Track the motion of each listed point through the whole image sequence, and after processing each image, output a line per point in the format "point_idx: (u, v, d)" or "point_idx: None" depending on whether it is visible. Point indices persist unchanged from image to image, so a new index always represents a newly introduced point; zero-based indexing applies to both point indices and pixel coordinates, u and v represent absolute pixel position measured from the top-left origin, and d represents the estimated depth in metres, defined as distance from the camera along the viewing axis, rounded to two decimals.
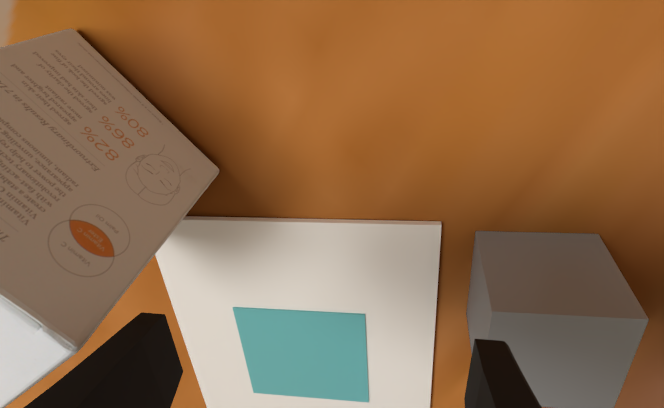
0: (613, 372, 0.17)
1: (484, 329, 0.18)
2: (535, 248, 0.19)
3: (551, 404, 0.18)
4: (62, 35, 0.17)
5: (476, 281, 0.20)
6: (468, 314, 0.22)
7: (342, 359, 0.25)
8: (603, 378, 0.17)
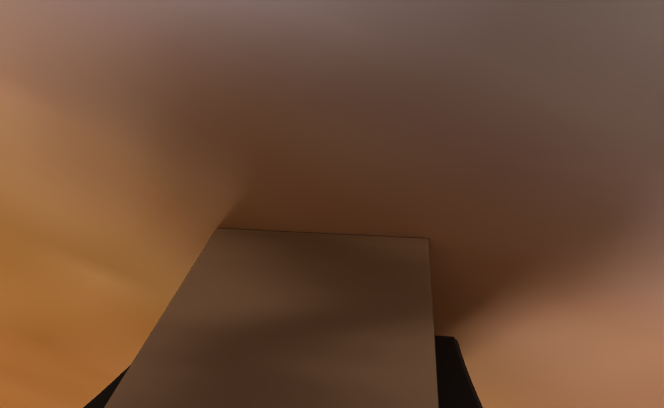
0: None
1: None
2: None
3: None
4: None
5: None
6: None
7: None
8: None
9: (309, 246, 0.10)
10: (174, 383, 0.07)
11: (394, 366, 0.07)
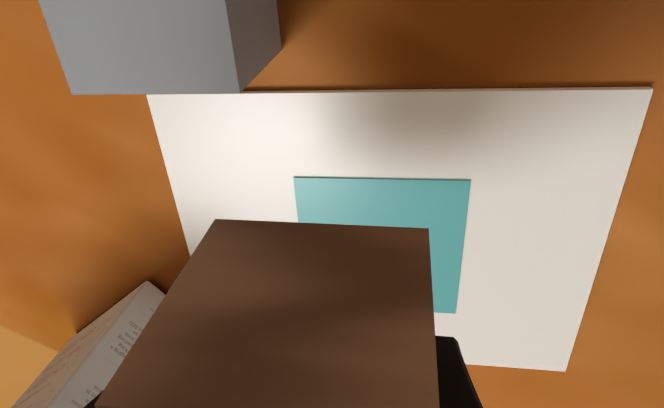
0: None
1: None
2: None
3: None
4: (63, 347, 0.26)
5: None
6: None
7: (378, 208, 0.19)
8: None
9: (308, 235, 0.10)
10: (172, 370, 0.07)
11: (393, 353, 0.07)
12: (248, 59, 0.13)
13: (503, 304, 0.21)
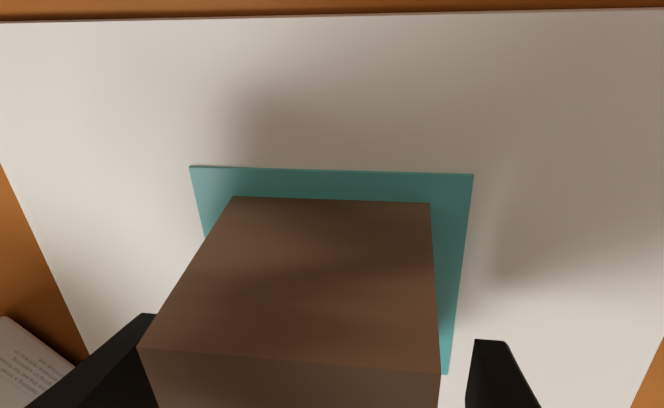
0: None
1: None
2: None
3: None
4: None
5: None
6: None
7: None
8: None
9: (319, 209, 0.11)
10: (202, 319, 0.08)
11: (398, 304, 0.08)
12: None
13: (520, 364, 0.14)
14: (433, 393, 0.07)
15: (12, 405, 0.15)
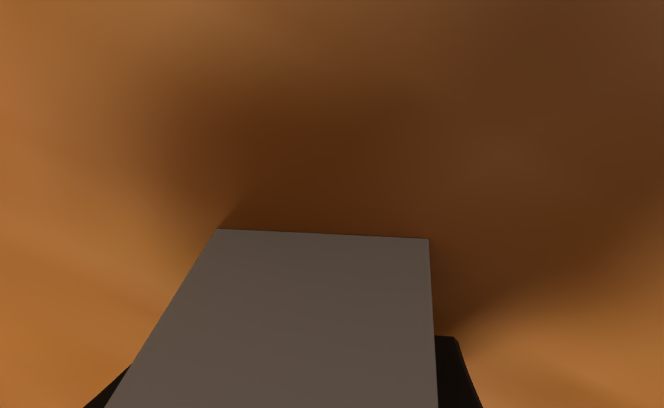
0: None
1: None
2: None
3: None
4: None
5: None
6: None
7: None
8: None
9: None
10: None
11: None
12: None
13: None
14: None
15: None
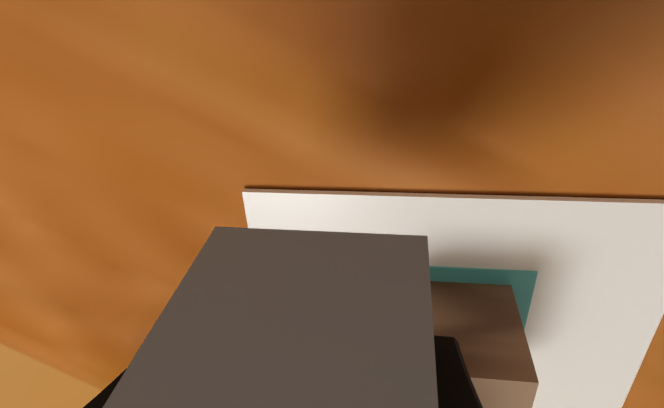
0: None
1: None
2: None
3: None
4: None
5: None
6: None
7: None
8: None
9: (449, 289, 0.20)
10: None
11: (510, 349, 0.17)
12: None
13: (558, 373, 0.23)
14: (533, 391, 0.16)
15: None
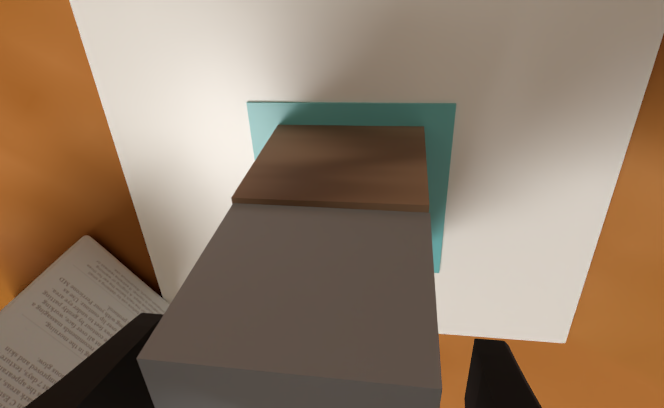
0: (296, 393, 0.08)
1: None
2: None
3: None
4: None
5: None
6: None
7: None
8: (319, 405, 0.08)
9: (343, 131, 0.15)
10: (271, 185, 0.12)
11: (402, 176, 0.12)
12: None
13: (494, 261, 0.18)
14: None
15: (98, 299, 0.19)
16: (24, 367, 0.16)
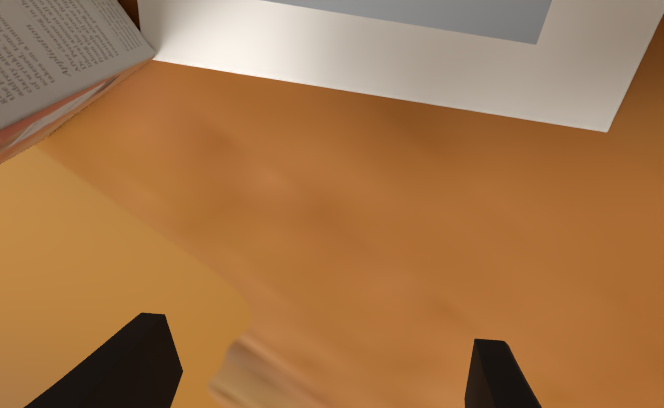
0: None
1: None
2: None
3: None
4: None
5: None
6: None
7: None
8: None
9: None
10: None
11: None
12: None
13: None
14: None
15: None
16: None
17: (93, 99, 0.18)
